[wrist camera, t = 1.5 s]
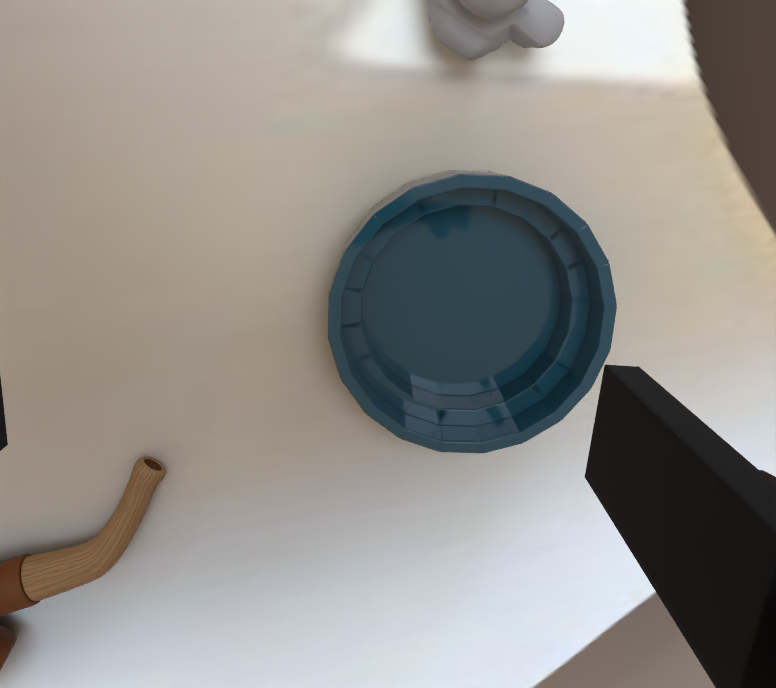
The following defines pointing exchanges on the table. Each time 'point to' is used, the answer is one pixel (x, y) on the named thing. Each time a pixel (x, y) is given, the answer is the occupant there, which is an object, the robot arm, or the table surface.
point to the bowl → (470, 311)
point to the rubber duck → (494, 24)
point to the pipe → (76, 554)
